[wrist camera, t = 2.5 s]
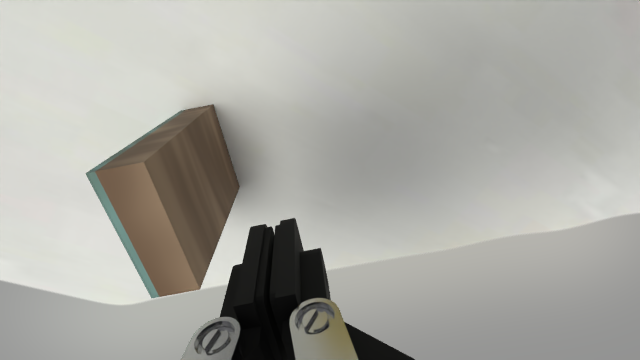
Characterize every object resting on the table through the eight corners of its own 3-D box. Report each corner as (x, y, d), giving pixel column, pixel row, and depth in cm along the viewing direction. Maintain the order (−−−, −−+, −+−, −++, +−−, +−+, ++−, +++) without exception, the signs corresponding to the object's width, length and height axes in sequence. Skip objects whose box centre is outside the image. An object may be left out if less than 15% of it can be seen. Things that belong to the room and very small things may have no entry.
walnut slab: (213, 104, 25) (143, 161, 14) (239, 187, 27) (199, 289, 16) (180, 110, 25) (85, 173, 14) (210, 192, 27) (151, 298, 17)
